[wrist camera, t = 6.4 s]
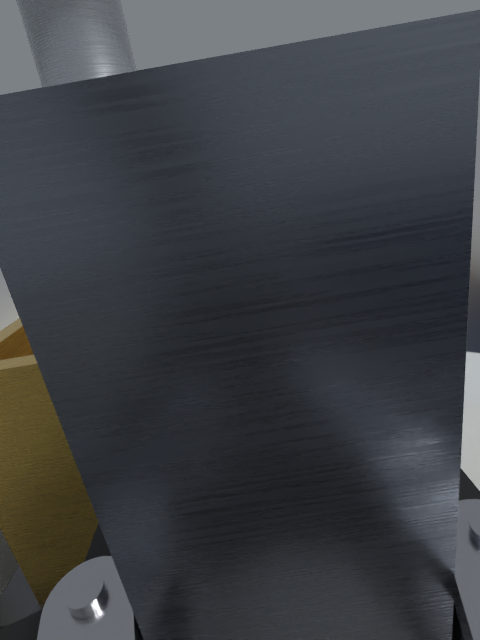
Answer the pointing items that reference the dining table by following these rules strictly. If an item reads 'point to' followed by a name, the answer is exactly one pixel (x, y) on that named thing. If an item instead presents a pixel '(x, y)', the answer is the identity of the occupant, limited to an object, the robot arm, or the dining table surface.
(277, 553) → the grey square peg
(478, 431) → the dining table surface
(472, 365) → the dining table surface
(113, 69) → the flanged pole stand
